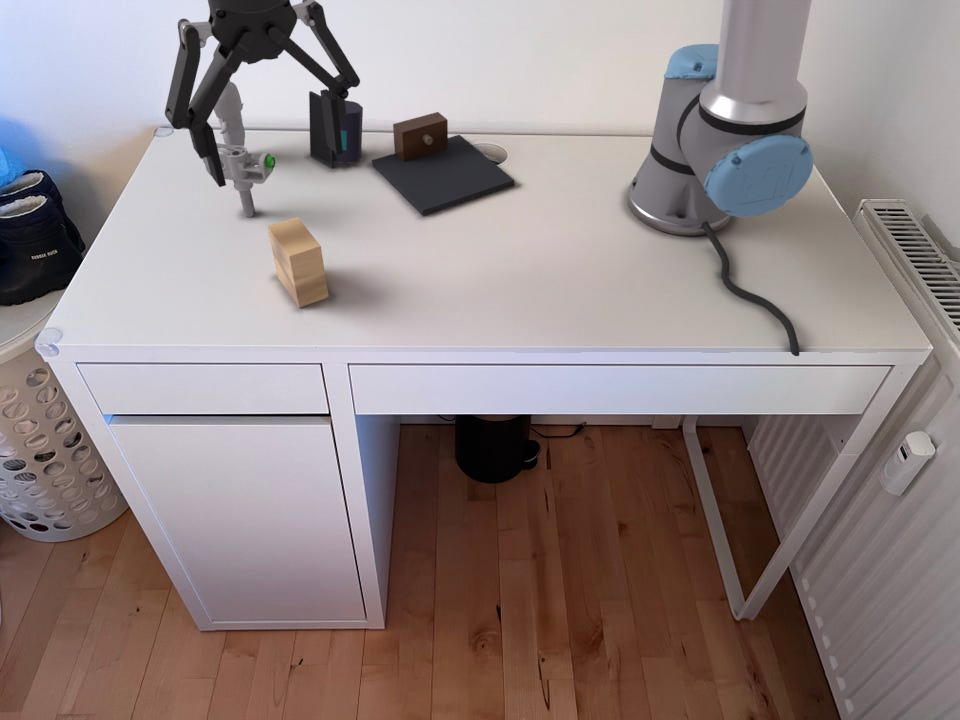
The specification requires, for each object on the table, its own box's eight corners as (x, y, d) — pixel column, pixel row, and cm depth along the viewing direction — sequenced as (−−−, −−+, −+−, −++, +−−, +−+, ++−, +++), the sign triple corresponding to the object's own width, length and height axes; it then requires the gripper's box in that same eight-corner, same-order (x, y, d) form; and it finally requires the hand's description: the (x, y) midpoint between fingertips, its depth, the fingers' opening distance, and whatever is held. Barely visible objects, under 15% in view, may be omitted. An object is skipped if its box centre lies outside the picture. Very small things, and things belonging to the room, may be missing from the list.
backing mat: (514, 185, 113) (514, 180, 113) (422, 216, 107) (422, 210, 106) (459, 140, 123) (459, 134, 122) (372, 165, 116) (371, 159, 116)
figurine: (236, 140, 121) (214, 48, 110) (259, 142, 121) (240, 50, 110) (214, 171, 114) (190, 75, 103) (240, 173, 114) (218, 77, 103)
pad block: (328, 297, 94) (320, 246, 88) (299, 308, 93) (289, 256, 87) (306, 267, 98) (297, 216, 93) (277, 277, 97) (266, 226, 91)
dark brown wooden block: (451, 152, 118) (451, 122, 114) (407, 165, 115) (406, 135, 111) (438, 140, 120) (438, 111, 117) (394, 153, 117) (392, 123, 114)
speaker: (321, 172, 114) (318, 106, 108) (309, 156, 118) (306, 91, 111) (368, 165, 117) (367, 101, 111) (355, 150, 121) (354, 87, 114)
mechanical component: (279, 224, 105) (267, 161, 98) (211, 214, 106) (194, 151, 99) (287, 213, 107) (276, 150, 100) (220, 203, 108) (204, 140, 101)
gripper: (348, -73, 75) (364, 123, 90) (87, -36, 65) (155, 177, 80) (383, -52, 71) (394, 151, 86) (109, -8, 61) (176, 212, 76)
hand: (278, 164), depth 83 cm, fingers open, 13 cm apart
